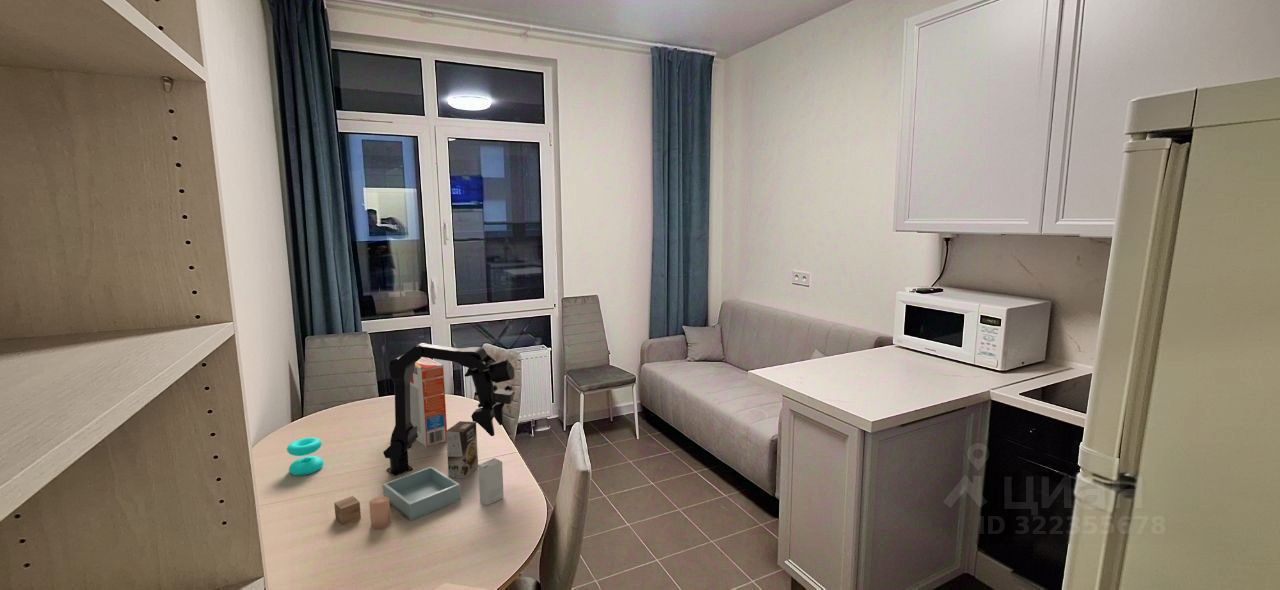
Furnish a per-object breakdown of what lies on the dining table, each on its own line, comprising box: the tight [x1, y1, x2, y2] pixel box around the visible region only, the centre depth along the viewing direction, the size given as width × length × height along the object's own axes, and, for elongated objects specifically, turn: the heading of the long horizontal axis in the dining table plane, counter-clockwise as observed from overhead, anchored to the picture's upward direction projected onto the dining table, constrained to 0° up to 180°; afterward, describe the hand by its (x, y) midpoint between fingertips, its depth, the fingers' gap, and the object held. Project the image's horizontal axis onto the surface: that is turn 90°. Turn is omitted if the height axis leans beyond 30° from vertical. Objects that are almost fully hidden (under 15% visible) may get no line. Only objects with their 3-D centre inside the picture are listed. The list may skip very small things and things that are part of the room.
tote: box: [382, 466, 462, 522], centre depth 165 cm, size 18×16×5 cm
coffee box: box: [446, 421, 479, 479], centre depth 182 cm, size 9×6×16 cm
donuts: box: [286, 436, 324, 476], centre depth 184 cm, size 10×10×10 cm
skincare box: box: [477, 457, 505, 506], centre depth 164 cm, size 6×4×12 cm
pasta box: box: [410, 357, 448, 448], centre depth 211 cm, size 23×8×30 cm, turn 43°
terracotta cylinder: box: [368, 495, 392, 530], centre depth 152 cm, size 5×5×7 cm
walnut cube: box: [333, 495, 362, 526], centre depth 155 cm, size 5×5×5 cm
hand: (497, 430), depth 179 cm, fingers open, 9 cm apart
